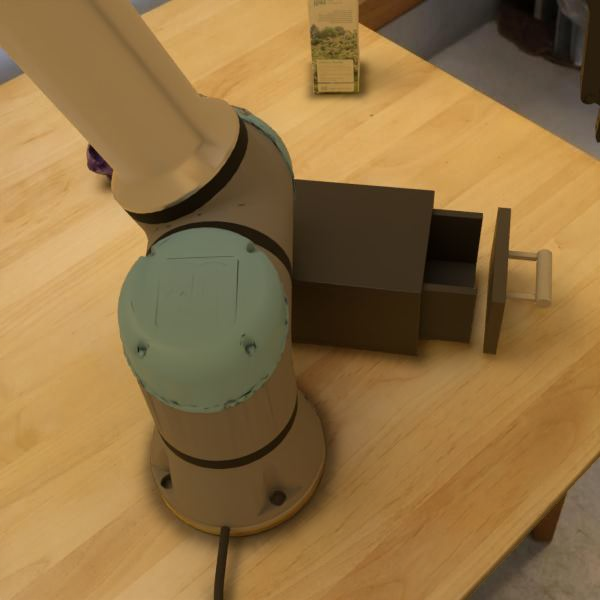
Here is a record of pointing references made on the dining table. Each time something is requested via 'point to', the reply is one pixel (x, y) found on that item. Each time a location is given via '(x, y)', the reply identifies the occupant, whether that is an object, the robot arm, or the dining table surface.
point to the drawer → (472, 277)
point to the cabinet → (359, 265)
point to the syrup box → (334, 45)
